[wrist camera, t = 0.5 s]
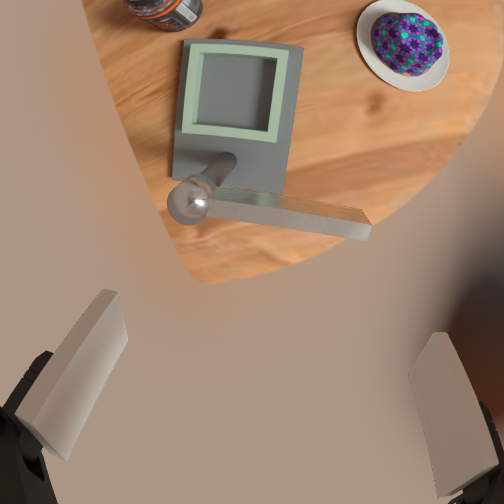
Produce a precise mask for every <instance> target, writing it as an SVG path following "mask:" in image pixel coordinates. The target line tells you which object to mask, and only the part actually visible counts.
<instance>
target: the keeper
mask: <svg viewBox="0 0 504 504" xmlns="http://www.w3.org/2000/svg"><path fill="white" fill-rule="evenodd" d="M167 207H168V211H169V213H170V215H171V216H172V217H173V218H174V219H175V220H176V221H177V222H179V223H181V224H184V225H194V224H197V223H199V222H201V221H202V220H203V219H204V218H205V216H207V217H214V218H221V219H228V220H235V221H242V222H249V223H256V224H262V225H269V226H275V227H282V228H288V229H295V230H301V231H307V232H313V233H319V234H325V235H331V236H337V237H343V238H349V239H355V240H361V241H366V242H367V241H368V237H369V234H370V230H371V227H372V224H371V223H370V221H369V220H368V218H367V217H366V215H365V214H364V212H363V211H362V210H361V209H356V208H351V207H346V206H340V205H335V204H329V203H324V202H318V201H312V200H306V199H300V198H294V197H288V196H282V195H275V194H269V193H262V192H255V191H248V190H241V189H233V188H226V187H218V186H216V184H215V183H214V181H213V180H212V179H211V178H210V177H208V176H206V175H204V174H193V175H190V176H189V177H187V178H186V179H185V180H184V181H182V182H181V183H180V184H179V185H177V186H176V187H175V188H174V189H173V190H172V191H171V192H170V194H169V196H168V199H167Z"/></svg>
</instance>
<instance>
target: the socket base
mask: <svg viewBox="0 0 504 504" xmlns="http://www.w3.org/2000/svg"><path fill="white" fill-rule="evenodd" d="M303 50H304V48H303V47H296V46H290V45H282V44H274V43H265V42H255V41H243V40H225V39H184V46H183V53H182V61H181V70H180V78H179V88H178V98H177V109H176V121H175V135H174V151H173V171H172V180H175V181H184V180H185V179H186V178H187V177H189V176H190V175H193V174H204V175H206V176H208V177H210V178H211V179H212V180H213V181H214V183H215V184H216V186H218V187H220V186H227V187H235V188H242V189H249V190H256V191H263V192H270V193H277V194H282V193H283V186H284V180H285V174H286V167H287V161H288V154H289V148H290V141H291V135H292V128H293V121H294V114H295V108H296V101H297V94H298V87H299V79H300V72H301V65H302V58H303Z"/></svg>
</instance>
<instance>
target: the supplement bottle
mask: <svg viewBox="0 0 504 504" xmlns="http://www.w3.org/2000/svg"><path fill="white" fill-rule="evenodd" d="M123 1H124V5H125V7H126V9H127V10H128V11H129V12H130V13H131V14H133V15H135V16H137V17H138V18H141V19H143V20H145V21H147V22H149V23H151V24H153V25H155V26H156V27H158V28H161V29H163V30H165V31H169V32H177V31H182V30H185V29H187V28H189V27H191V26H192V25H193V24H194V23H195V22H196V21H197V20H198V19H199V17H200V15H201V13H202V8H203V5H202V1H201V0H123Z"/></svg>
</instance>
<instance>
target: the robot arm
mask: <svg viewBox="0 0 504 504" xmlns="http://www.w3.org/2000/svg"><path fill="white" fill-rule="evenodd" d="M127 342H128V336H127V332H126V327H125V323H124V318H123V314H122V309H121V303H120V298H119V293H118V292H116V291H111V290H107V289H102V290H101V292H100V293H99V294H98V295H97V297H96V298H95V299H94V300H93V302H92V303H91V304H90V305H89V307H88V308H87V309H86V311H85V312H84V313H83V314H82V316H81V317H80V318H79V320H78V321H77V322H76V324H75V325H74V327H73V328H72V329H71V330H70V332H69V333H68V334H67V336H66V337H65V339H64V340H63V341H62V343H61V344H60V346H59V347H58V348H57V350H56V351H55V353H52V352H49V351H45V352H43V353H42V354H41V355H39V356H38V357H37V358H36V359H35V360H34V361H33V363H32V364H31V366H30V367H29V370H27V371H26V373H25V374H24V377H23V378H22V379H21V380H20V382H19V383H18V384H17V386H16V387H15V389H14V390H13V392H12V393H11V395H10V397H9V398H8V400H7V401H6V403H5V404H4V406H3V407H2V408H1V406H0V504H58V503H57V500H56V497H55V494H54V491H53V488H52V485H51V482H50V479H49V475H48V472H47V469H46V465H45V461H44V457H43V455H42V453H41V450H42V448H43V447H44V448H46V450H47V451H48V452H49V453H51V454H53V455H55V456H57V457H59V458H60V459H63V460H64V461H67V460H68V458H69V455H70V453H71V451H72V449H73V447H74V445H75V442H76V440H77V438H78V436H79V434H80V432H81V430H82V427H83V426H84V424H85V421H86V420H87V418H88V415H89V413H90V411H91V409H92V407H93V405H94V403H95V401H96V400H97V398H98V396H99V394H100V392H101V390H102V388H103V386H104V384H105V382H106V380H107V378H108V376H109V375H110V373H111V371H112V369H113V367H114V365H115V363H116V362H117V360H118V358H119V356H120V354H121V352H122V351H123V349H124V346H125V345H126V343H127ZM408 376H409V380H410V383H411V386H412V390H413V393H414V396H415V400H416V404H417V407H418V411H419V415H420V418H421V422H422V426H423V430H424V434H425V438H426V443H427V447H428V451H429V456H430V461H431V466H432V470H433V476H434V481H435V487H436V493H437V499H440V498H444V497H447V496H451V495H453V494H455V493H457V492H458V491H460V490H463V494H461V495H459V496H458V497H456V498H454V499H452V500H451V501H450V502H449V503H448V504H454V503H455V502H456V504H504V450H503V447H502V444H501V441H500V438H499V436H498V432H497V431H496V427H495V424H494V423H493V419H492V416H491V414H490V411H489V409H488V408H487V407H486V405H485V404H484V403H483V402H482V401H479V402H478V401H477V399H476V396H475V393H474V391H473V388H472V386H471V384H470V381H469V379H468V377H467V374H466V372H465V370H464V368H463V365H462V363H461V361H460V359H459V357H458V355H457V353H456V351H455V348H454V347H453V344H452V342H451V340H450V339H449V336H448V334H447V333H443V332H433V334H432V336H431V337H430V339H429V341H428V342H427V344H426V346H425V347H424V349H423V351H422V353H421V354H420V356H419V357H418V359H417V361H416V362H415V364H414V366H413V367H412V369H411V370H410V372H409V373H408Z"/></svg>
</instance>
